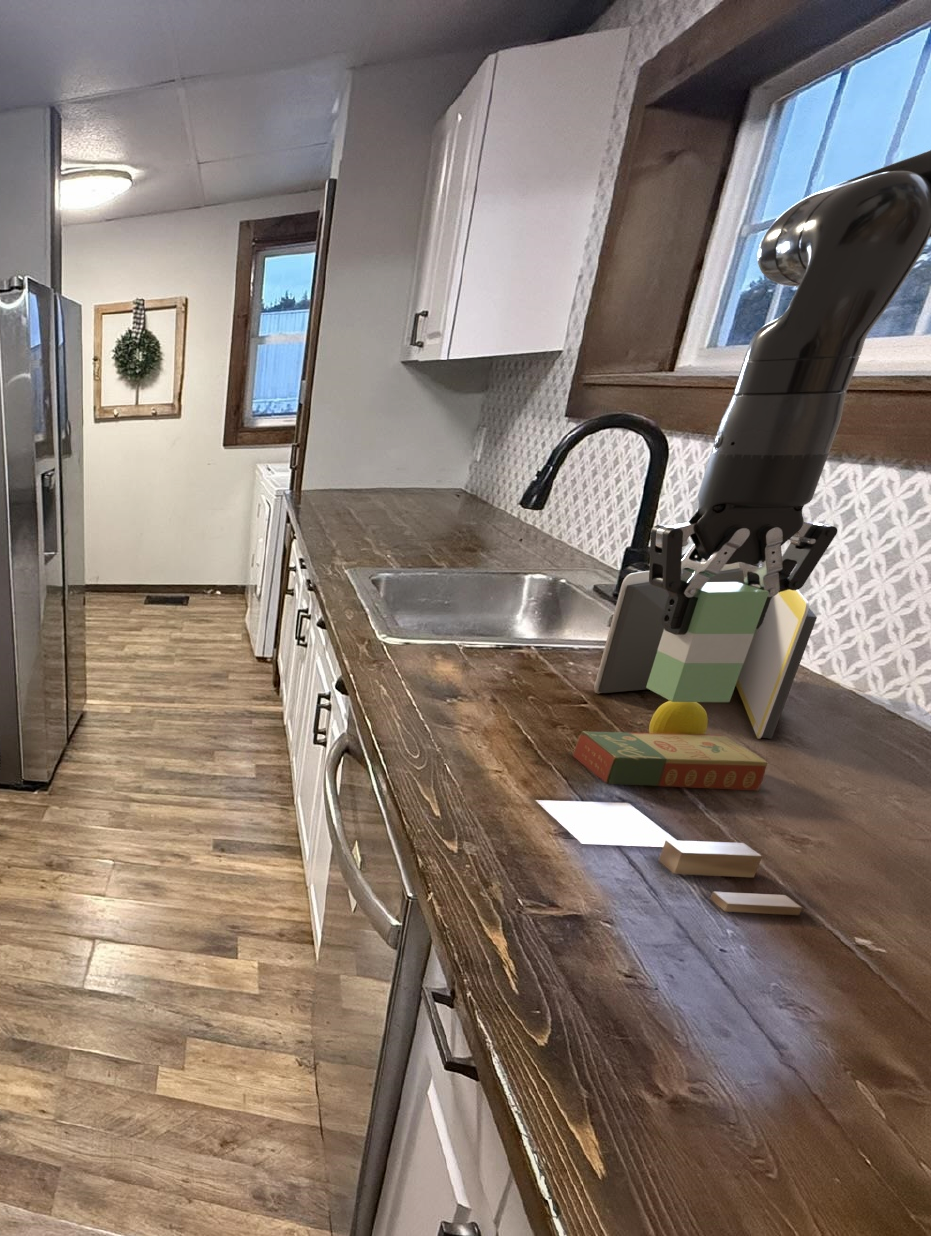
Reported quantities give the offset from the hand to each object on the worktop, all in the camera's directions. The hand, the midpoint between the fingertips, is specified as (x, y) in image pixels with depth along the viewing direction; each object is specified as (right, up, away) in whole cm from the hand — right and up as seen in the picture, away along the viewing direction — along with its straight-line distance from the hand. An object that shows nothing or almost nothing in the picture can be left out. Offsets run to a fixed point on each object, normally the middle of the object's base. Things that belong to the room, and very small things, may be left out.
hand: (707, 632), depth 75 cm
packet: (0, -1, 0) cm, 1 cm away
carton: (+16, -16, +23) cm, 32 cm away
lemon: (+22, -13, +28) cm, 38 cm away
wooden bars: (+2, -25, +1) cm, 25 cm away
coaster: (0, -20, +12) cm, 24 cm away
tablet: (+40, -5, +47) cm, 61 cm away
